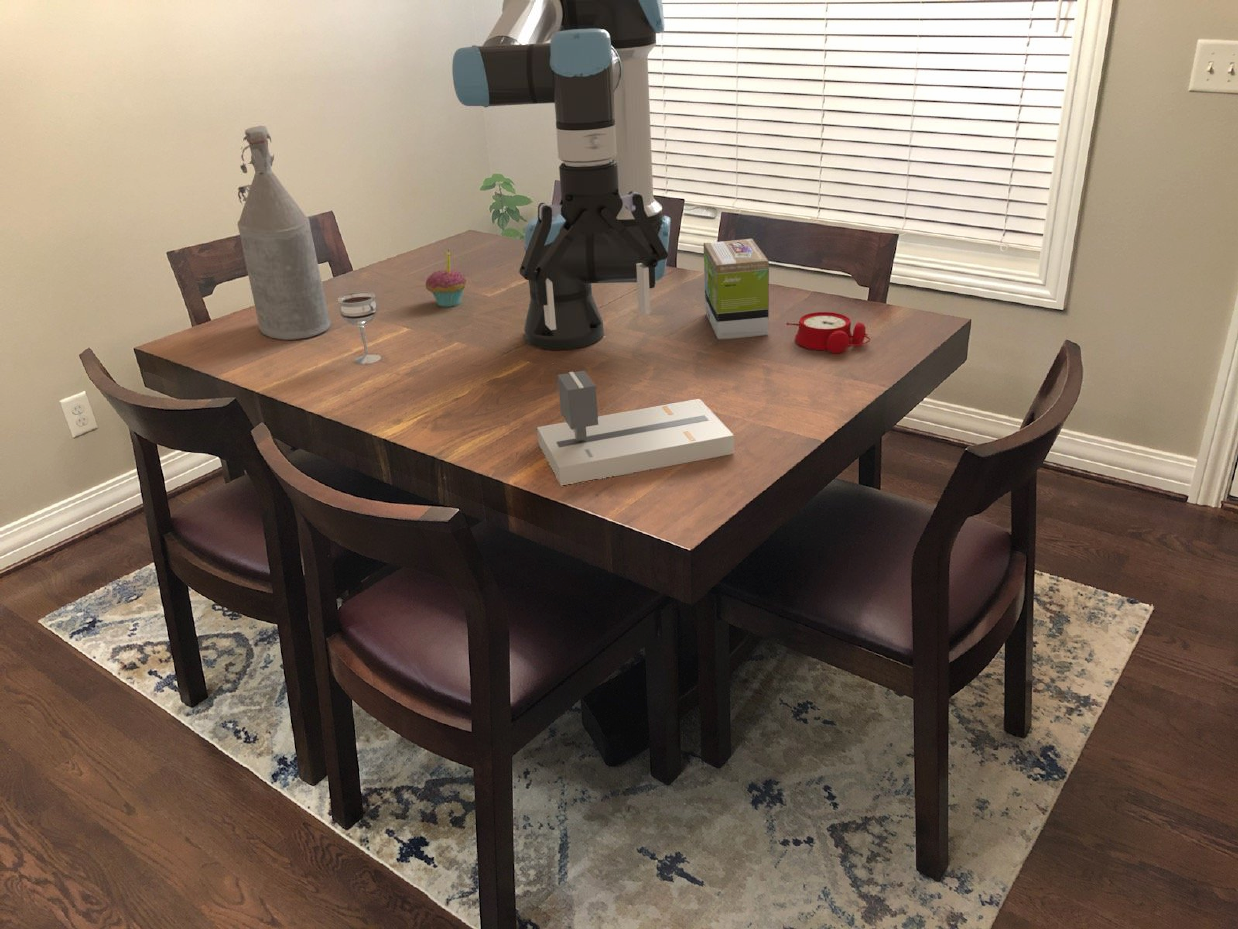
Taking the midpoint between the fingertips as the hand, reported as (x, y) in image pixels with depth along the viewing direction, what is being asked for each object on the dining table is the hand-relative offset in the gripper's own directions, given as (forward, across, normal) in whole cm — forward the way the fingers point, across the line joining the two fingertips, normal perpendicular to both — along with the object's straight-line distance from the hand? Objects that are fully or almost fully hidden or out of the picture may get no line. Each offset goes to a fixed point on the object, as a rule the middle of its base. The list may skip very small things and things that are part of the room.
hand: (598, 319), depth 140 cm
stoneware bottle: (+20, -39, +82) cm, 93 cm away
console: (+21, +4, +1) cm, 22 cm away
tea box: (+20, +41, +42) cm, 62 cm away
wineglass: (+21, -28, +57) cm, 67 cm away
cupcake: (+20, -7, +82) cm, 85 cm away
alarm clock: (+21, +52, +25) cm, 61 cm away
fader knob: (+18, -4, +1) cm, 18 cm away
